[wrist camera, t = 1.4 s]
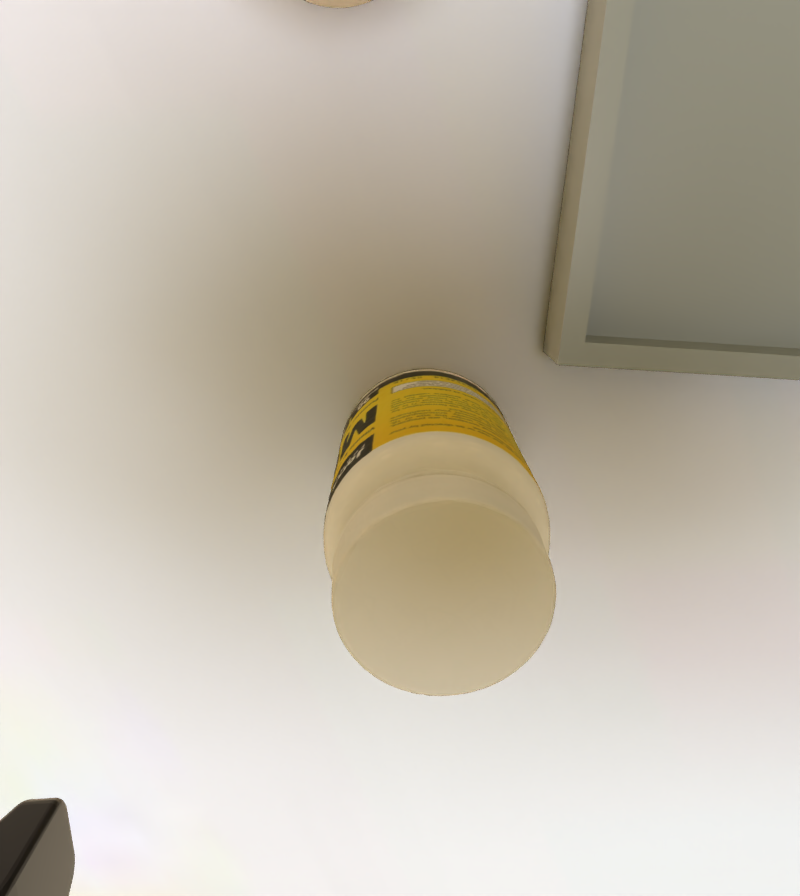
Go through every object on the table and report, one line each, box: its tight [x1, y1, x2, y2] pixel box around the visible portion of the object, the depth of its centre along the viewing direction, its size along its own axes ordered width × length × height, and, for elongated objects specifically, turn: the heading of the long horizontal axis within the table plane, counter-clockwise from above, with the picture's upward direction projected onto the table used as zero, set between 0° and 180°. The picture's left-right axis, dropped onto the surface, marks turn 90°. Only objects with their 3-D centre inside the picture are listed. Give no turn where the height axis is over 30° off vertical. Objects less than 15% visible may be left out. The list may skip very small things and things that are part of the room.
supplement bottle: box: [323, 369, 556, 696], centre depth 17 cm, size 5×5×8 cm
